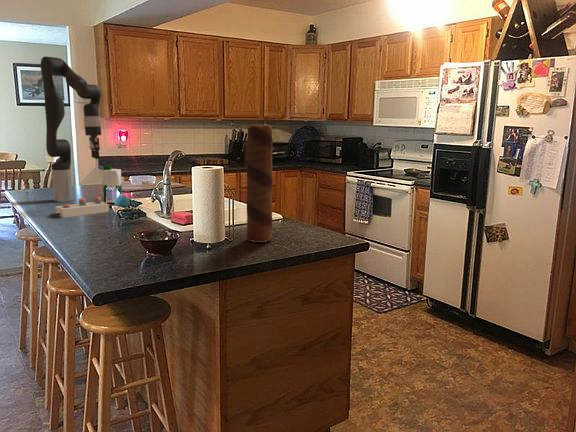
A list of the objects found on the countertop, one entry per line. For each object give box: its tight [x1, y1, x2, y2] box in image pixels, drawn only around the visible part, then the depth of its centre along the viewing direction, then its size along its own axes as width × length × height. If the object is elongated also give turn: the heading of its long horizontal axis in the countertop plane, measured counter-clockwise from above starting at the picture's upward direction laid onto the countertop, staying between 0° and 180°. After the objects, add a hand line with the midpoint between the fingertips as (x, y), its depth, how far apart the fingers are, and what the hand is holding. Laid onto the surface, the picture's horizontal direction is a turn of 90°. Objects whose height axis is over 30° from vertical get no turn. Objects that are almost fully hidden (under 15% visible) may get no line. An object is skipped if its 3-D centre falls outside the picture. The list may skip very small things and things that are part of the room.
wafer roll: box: [245, 124, 274, 241], centre depth 184 cm, size 10×11×45 cm
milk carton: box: [101, 164, 123, 202], centre depth 259 cm, size 9×9×20 cm
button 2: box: [78, 198, 87, 205], centre depth 231 cm, size 3×3×3 cm
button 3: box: [93, 196, 102, 203], centre depth 236 cm, size 3×3×3 cm
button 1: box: [62, 203, 71, 208], centre depth 226 cm, size 3×3×3 cm
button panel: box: [49, 201, 110, 218], centre depth 230 cm, size 9×26×5 cm, turn 136°
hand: (95, 158), depth 242 cm, fingers open, 8 cm apart
